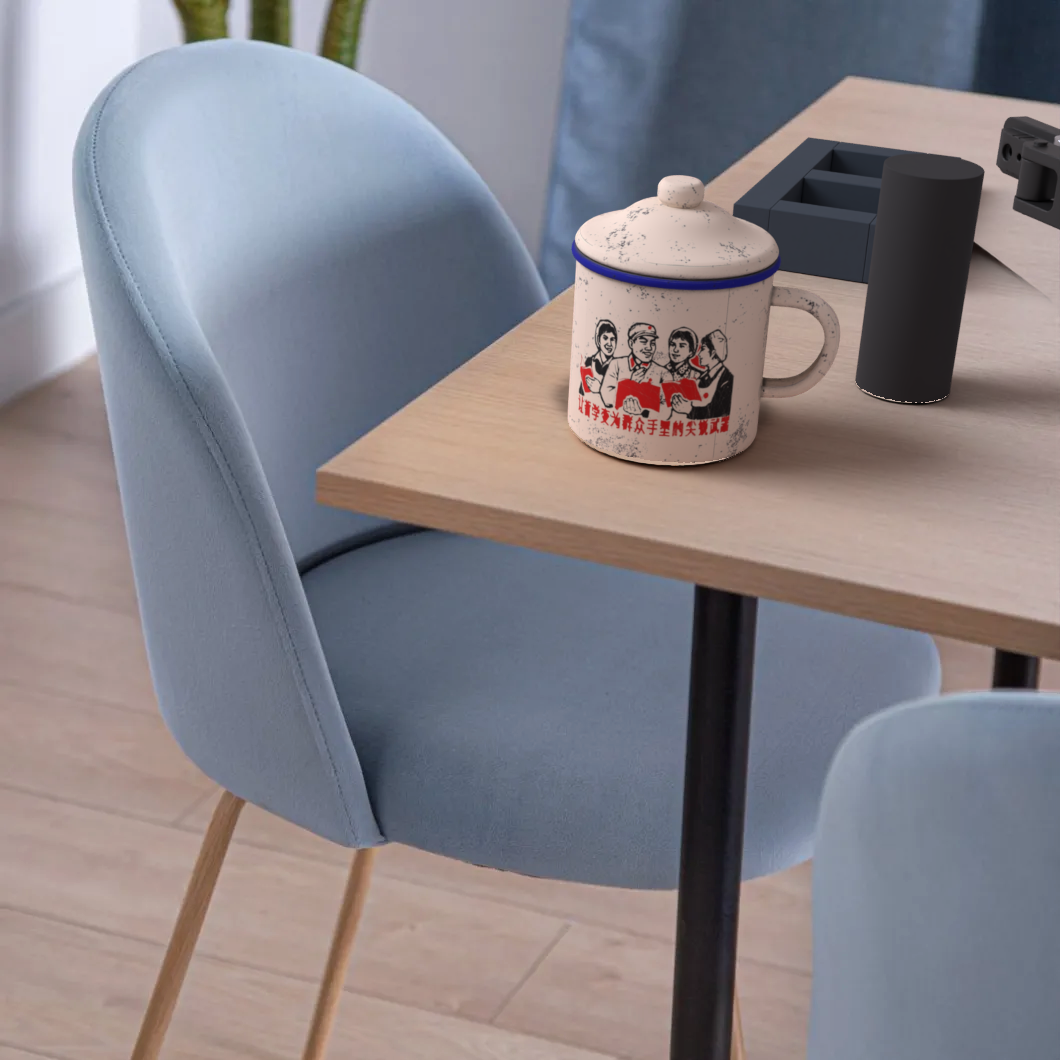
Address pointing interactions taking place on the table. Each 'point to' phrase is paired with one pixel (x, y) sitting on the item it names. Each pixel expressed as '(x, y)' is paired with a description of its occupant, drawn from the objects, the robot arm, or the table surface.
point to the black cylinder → (918, 276)
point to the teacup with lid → (679, 328)
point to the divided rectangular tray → (821, 207)
